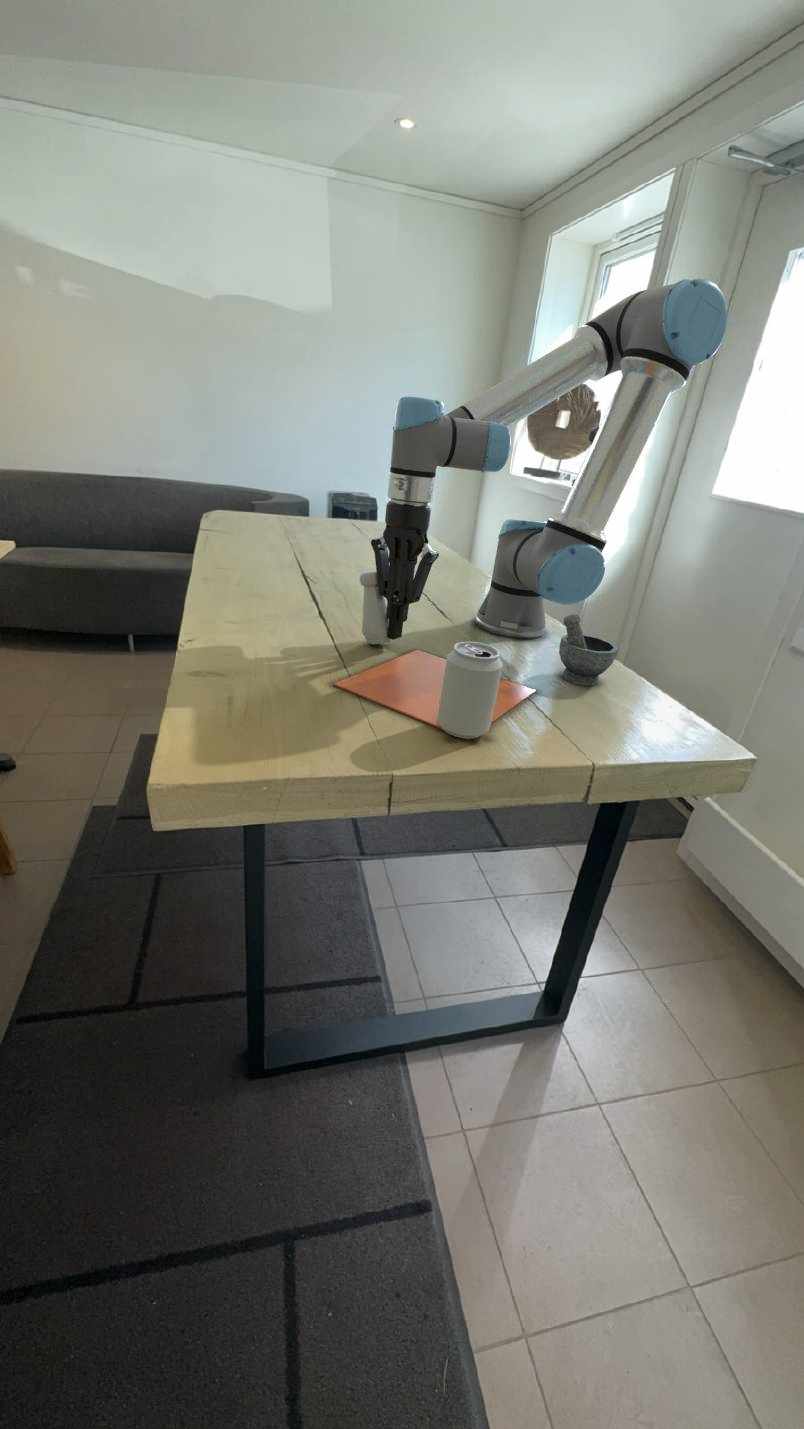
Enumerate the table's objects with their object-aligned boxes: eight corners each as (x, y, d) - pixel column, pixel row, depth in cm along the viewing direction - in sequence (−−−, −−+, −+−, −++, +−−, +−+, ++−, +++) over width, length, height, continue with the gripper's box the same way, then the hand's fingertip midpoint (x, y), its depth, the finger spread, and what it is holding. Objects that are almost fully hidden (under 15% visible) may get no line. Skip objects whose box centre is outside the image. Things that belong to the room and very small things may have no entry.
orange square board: (417, 651, 110) (417, 649, 110) (535, 691, 99) (536, 690, 99) (333, 685, 92) (333, 683, 91) (467, 740, 80) (467, 738, 80)
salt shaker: (391, 643, 107) (383, 570, 103) (361, 646, 108) (351, 573, 104) (396, 638, 112) (388, 569, 109) (367, 641, 113) (358, 572, 110)
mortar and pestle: (587, 668, 112) (603, 607, 107) (618, 688, 105) (637, 623, 99) (536, 669, 109) (551, 606, 103) (565, 690, 101) (582, 623, 96)
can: (474, 747, 78) (491, 663, 73) (426, 728, 81) (438, 647, 76) (497, 728, 84) (513, 649, 79) (451, 711, 87) (464, 634, 82)
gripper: (364, 496, 98) (354, 632, 108) (430, 509, 92) (412, 651, 102) (390, 496, 104) (378, 624, 114) (453, 507, 98) (434, 642, 108)
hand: (394, 637), depth 108 cm, fingers closed
